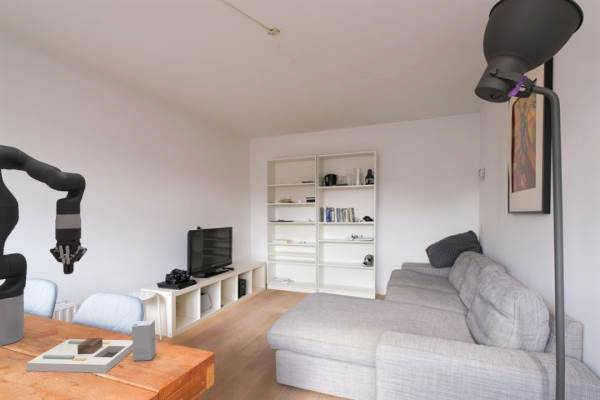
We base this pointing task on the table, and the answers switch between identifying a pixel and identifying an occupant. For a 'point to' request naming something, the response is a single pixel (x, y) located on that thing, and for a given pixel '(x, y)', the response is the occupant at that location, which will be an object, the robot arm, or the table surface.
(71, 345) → the board
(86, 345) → the walnut block
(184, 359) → the table surface
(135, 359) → the skincare box
